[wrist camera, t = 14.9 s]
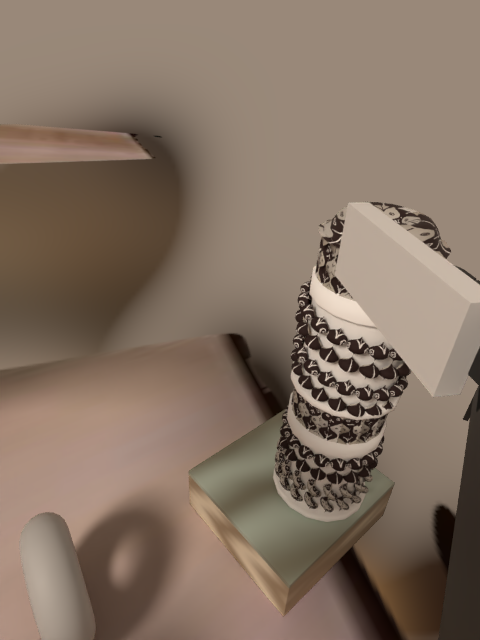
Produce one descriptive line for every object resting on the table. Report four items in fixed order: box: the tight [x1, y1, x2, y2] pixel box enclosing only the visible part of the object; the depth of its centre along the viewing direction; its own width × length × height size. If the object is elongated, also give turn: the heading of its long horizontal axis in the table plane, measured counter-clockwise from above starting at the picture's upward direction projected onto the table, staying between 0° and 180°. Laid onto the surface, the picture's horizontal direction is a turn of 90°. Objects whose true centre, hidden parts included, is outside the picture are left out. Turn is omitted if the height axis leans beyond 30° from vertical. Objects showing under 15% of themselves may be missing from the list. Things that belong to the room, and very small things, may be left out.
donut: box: [19, 512, 96, 640], centre depth 31 cm, size 10×4×10 cm, turn 32°
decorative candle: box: [273, 202, 451, 522], centre depth 33 cm, size 9×9×25 cm
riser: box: [189, 410, 394, 617], centre depth 41 cm, size 13×14×5 cm
